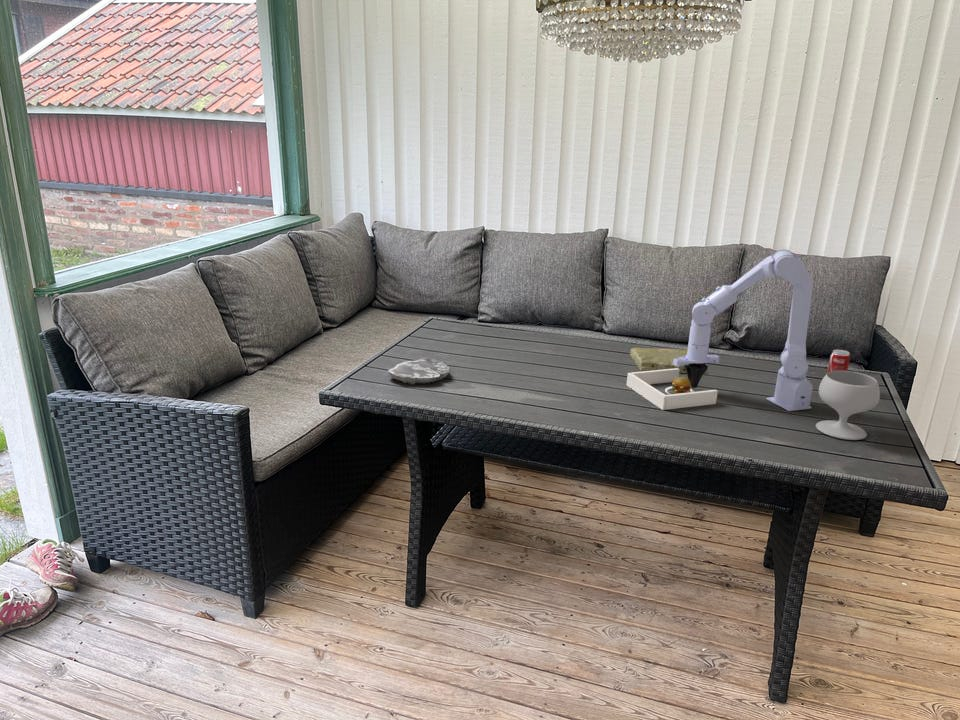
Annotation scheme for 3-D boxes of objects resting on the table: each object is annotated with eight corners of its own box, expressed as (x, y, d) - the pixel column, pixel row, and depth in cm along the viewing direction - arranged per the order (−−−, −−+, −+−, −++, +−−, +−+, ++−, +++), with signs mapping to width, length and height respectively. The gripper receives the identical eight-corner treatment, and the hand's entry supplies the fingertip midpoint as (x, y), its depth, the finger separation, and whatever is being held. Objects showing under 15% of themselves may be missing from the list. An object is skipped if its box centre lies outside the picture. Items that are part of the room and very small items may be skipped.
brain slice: (422, 392, 202) (422, 383, 201) (380, 379, 211) (380, 370, 210) (463, 375, 217) (464, 366, 216) (423, 363, 226) (423, 355, 225)
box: (715, 403, 198) (717, 390, 197) (662, 410, 193) (664, 396, 192) (676, 380, 216) (677, 368, 215) (626, 385, 211) (627, 372, 210)
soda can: (826, 384, 216) (833, 347, 212) (844, 388, 213) (852, 351, 209) (822, 389, 212) (830, 352, 208) (841, 393, 209) (849, 355, 205)
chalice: (824, 416, 191) (834, 365, 187) (878, 432, 182) (890, 379, 177) (802, 430, 182) (812, 376, 177) (859, 448, 173) (871, 391, 168)
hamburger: (654, 397, 204) (656, 379, 202) (665, 385, 214) (667, 368, 212) (696, 405, 198) (698, 387, 197) (704, 392, 208) (707, 375, 207)
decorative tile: (629, 355, 240) (630, 345, 239) (687, 357, 240) (688, 347, 239) (639, 373, 223) (640, 363, 222) (702, 375, 223) (703, 365, 221)
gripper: (711, 337, 208) (705, 380, 212) (669, 341, 203) (664, 384, 208) (726, 344, 202) (719, 388, 206) (683, 348, 197) (677, 392, 201)
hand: (692, 386), depth 206 cm, fingers closed
